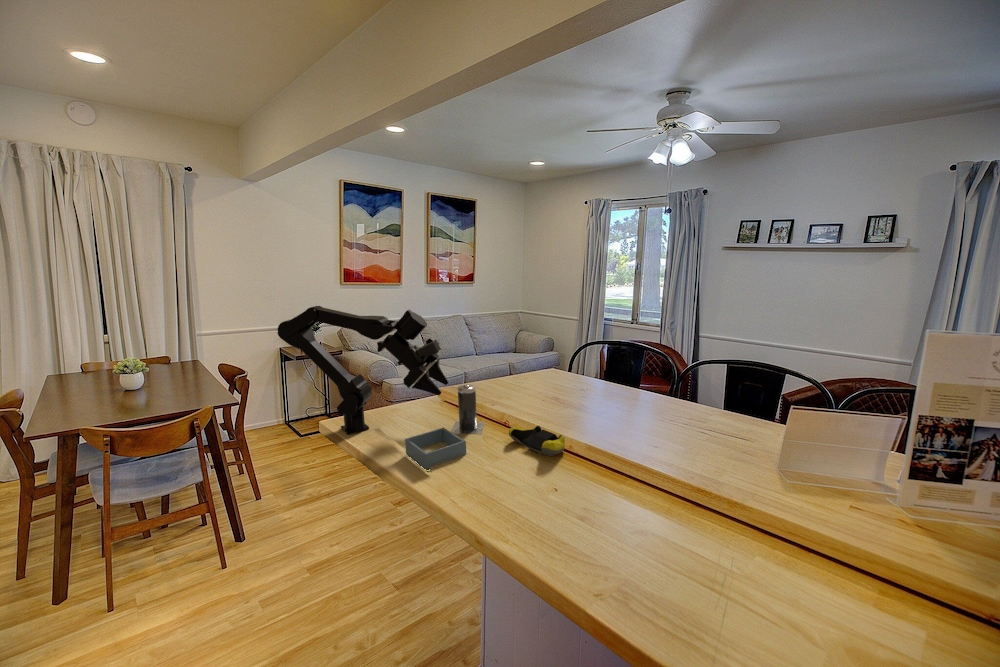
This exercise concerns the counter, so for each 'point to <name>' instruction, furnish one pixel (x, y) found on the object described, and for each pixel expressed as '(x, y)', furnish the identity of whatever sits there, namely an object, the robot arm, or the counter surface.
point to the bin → (437, 456)
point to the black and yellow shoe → (538, 440)
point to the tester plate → (478, 430)
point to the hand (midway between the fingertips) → (444, 388)
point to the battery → (467, 407)
